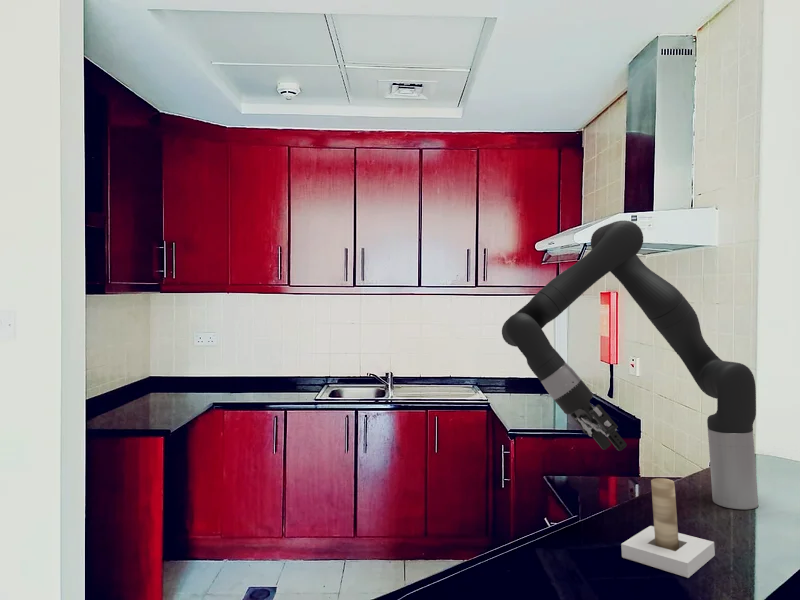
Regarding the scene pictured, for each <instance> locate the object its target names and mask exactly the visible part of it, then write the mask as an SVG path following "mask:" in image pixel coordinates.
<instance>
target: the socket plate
mask: <svg viewBox="0 0 800 600" xmlns="http://www.w3.org/2000/svg"><path fill="white" fill-rule="evenodd" d="M678 541H679V549H678V550H677V551H673V550H669V549H665V548H662V547H658V546H655V531H654V525H649V526H648V527H646V528H644V529H642V530H641V531H639V532H638V533H636V534H634V535H633V536H631V537H630V538H629V539H628V538H627V540H625V541H624V542H622V543H621V544H620V546H621V547H620V548H621V558H623V559H626V560H629V561H633V562H635V563H639V564H642V565H646V566H648V567H653V568H655V569H659V570H661V571H665V572H668V573H671V574H675V575H678V576H681V577H684V578H687V579H689V578H690V577H691V576H693V574H695V573H696V572H698V570H700V568H702V567H703V566H704V565H705V564H707V562H709V561H710V560H712V559H713V558H714V557H715V556H716V553H715V541H712V540H708V539H704V538H701V537H700V538H699V537H696V536H692V535H688V534H685V533H680V532H678Z"/></svg>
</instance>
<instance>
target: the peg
mask: <svg viewBox="0 0 800 600" xmlns="http://www.w3.org/2000/svg"><path fill="white" fill-rule="evenodd" d="M650 484H651V499H652V501H651V502H652V514H653V526H654V531H655V546H658V547H662V548H665V549H669V550H673V551H677V550H678V549H679V541H678V533H679V529H678V514H677V512H678V511H677V500H676V487H675V481H674V480H672V479H669V478H661V477H660V478H659V477H658V478H656V477H655V478H652V479H651V480H650Z"/></svg>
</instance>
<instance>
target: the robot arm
mask: <svg viewBox="0 0 800 600" xmlns="http://www.w3.org/2000/svg"><path fill="white" fill-rule="evenodd" d="M643 245H644V234H643V231H642V229H641V228H640V226H639V225H638V224H636V223H634V222H633V221H631V220H617V221H613V222H610V223H608V224H605V225H603V226H600V227H598V228H597V229H595V231H594V232H593V233H592V235H591V238H590V247H591V250H590V251H589V252H588V253H587V254H586V255H585V256H583V257H582V258H581V259H580V260H578V261H577V262H575V263H574V264H573V265H571V266H570V267H568V268H567V269H566V270H563V272H561V273H560V274H558V275H557V276H555V277H554V278H553V279H552V280H550V281H548V283H547V284H546V285H544V286H543V287H542V288H541V289H540V290H539V291H537V293H535V295H533V297H532V298H531V299H530V300H529V301H528V302H527V303H526V304H525V305H524V306H522V307H521V308H520V309H519V310H518V311H516V312H515V313H514V314H512V315H510V317H508V318H507V319H506V321H505V322H504V323H503V325H502V328H501V335H502V339H503V341H504V342H505V343H506V344H507V345H509V346H511V347H516V348H518V350H519V351H520V352H521V354H522V355H523V356H524V358H525V359H526V364H527V365H528V367H529V369H530V370H531V372H532V373H533V374H534V375H535V376H536V377H537V379H538V380H539V381H540V383H541V384H542V386H543V387H544V389H545V390H546V392H547V393H548V394H549V395H550V397H551V398H552V399H553V400H554V402H555V403H556V405H558V407H559V408H560V409H561V411H563V413H564V414H565V415H567V416H571V418H572V419H573V420H574V421H575V423H576V424H577V425H578V427H579V428H580V429H581V430H582V432H583V433H584V434H585V435H588V436H589V437H592V438H593V440H594V441H595V442H596V443H597V445H598V446H599V447H600V448H601V449H602V450H605V451H606V450H607V449H608V448H609V447H610V446H612V445H613V446H614V448H615V449H616V450H617V451H619V452H621V451H623V450H624V449H625V448H626V447H627V445H628V444H627V443H626V441H625V440H624V438H623V437H621V435H620V434H619V433H618V431H617V429H618V428H619V426H618V425H617V423H616V422H615V421H614V420H613V419H612V418H611V416H610V415H609V414H608V413H607V412H606V411H605V409H604V408H603V407H602V406H601V405H600V404H596V405H595V406H594V405H593V404H592V403H591V402H590V401H591V399H592V398H593V397H594V393H593V391H592V390H590V388H589V387H588V386H587V385H586V384H585V382H584V381H583V380H582V378H581V377H580V376H579V375H578V374H577V372H576V371H575V370H574V369H573V368H572V367H571V366H570V365H569V364H568V363H567V362H566V361H565V359H564V358H563V357H562V356H561V354H560V353H559V352H558V351H557V350H556V349H555V348H554V346H552V344H551V343H550V340H549V339H548V337H547V336H546V333H545V332H544V331H543V328H544V327H545V326H546V325H547V324H549V323H550V322H552V321H553V320H555V319H556V318H558V317H559V316H560V315H561V314H562V313H563V312H564V311H565V310H566V309H567V308H569V307H570V306H571V305H572V304H573V303H574V302H575V301H576V300H577V299H579V297H580V296H582V295H583V294H584V293H585V292H587V290H588V289H590V288H591V287H592V286H593V285H594V284H596V283H597V282H598V281H600V279H602V278H603V277H604V276H605V275H607V274H608V273H609V272H610V273H611V274H612V275H613V276H614V277H615V278H616V279H617V280H618V281H619V283H621V285H622V286H623V287H624V289H625V290H626V291H627V292H628V294H629V295H630V296H631V298H632V299H633V301H635V303H636V305H638V306H639V308H640V309H641V311H642V312H643V313H644V314H645V316H646V318H648V320H649V321H650V322H651V324H652V325H653V326H654V328H655V329H656V330H657V331H658V333H659V334H660V335H661V336H662V337H663V338H664V340H665V341H666V342H667V343H668V345H669V346H670V347H671V349H672V350H673V351H674V352H675V353H676V355H678V356H679V359H681V361H682V362H683V364H684V365H685V367H686V368H687V371H688V372H689V373H690V375H691V377H692V378H693V380H694V382H695V383H696V385H697V386H698V388H699V389H700V390H701V391H702V392H703V393H704V394H705V395H707V396H708V397H711V399H712V398H713V399H716V401H717V402H716V403H717V405H716V406H717V408H716V412H715V413H713V414H711V415H708V417H707V419H706V424H707V426H706V427H707V436H708V450H709V451H708V452H709V463H710V464H709V465H710V479H711V480H710V481H711V494H712V496H711V497H712V502H713V503H714V504H716V505H718V506H720V507H724V508H728V509H734V510H753V509H756V508H758V507H759V496H758V495H759V494H758V480H757V469H756V468H757V465H756V464H757V463H756V453H755V442H754V441H755V439H754V423H755V420H756V416H757V391H756V390H757V389H756V388H757V387H756V379H755V376H754V374H753V372H752V370H751V369H750V368H749V367H748V366H747V365H745V364H744V363H740V362H735V361H728V360H723V359H721V358H720V357H719V356H717V354H716V353H715V352H714V351H713V350H712V349H711V348H710V346H709V345H708V344H707V342H706V340H705V338H704V337H703V333H702V330H701V324H700V321H699V318H698V315H697V313H696V311H695V310H694V307H692V305H691V304H690V302H689V301H688V300H687V299H686V297H685V296H684V294H683V293H681V291H680V290H679V289H677V287H675V286H674V285H673V284H672V283H670V282H669V281H667V280H666V279H664V278H663V277H661V276H660V275H658V274H657V273H656V272H654V271H652V270H651V269H650V268H649V267H648V266H647V265H646V264H645V263H644V262H643V261H642V260H641V259H640V257H639V256H638V255H637V254H639V252H640V250H641V249H642V247H643ZM592 400H593V399H592Z"/></svg>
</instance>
